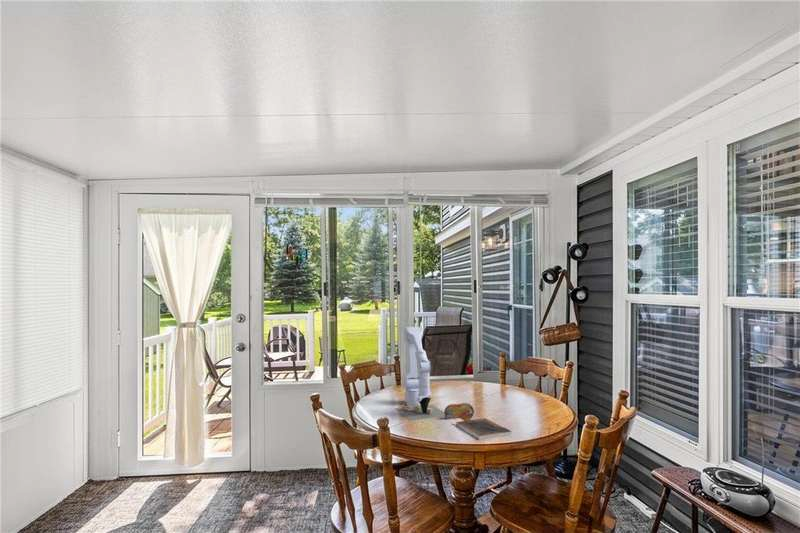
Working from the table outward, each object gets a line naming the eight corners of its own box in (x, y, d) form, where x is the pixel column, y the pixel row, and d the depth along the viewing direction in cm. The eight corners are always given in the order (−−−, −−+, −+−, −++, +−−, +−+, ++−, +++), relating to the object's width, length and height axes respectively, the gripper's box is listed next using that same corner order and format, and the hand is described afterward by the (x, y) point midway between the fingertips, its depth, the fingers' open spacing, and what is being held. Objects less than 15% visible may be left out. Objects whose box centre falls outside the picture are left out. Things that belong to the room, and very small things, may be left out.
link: (400, 409, 234) (400, 403, 234) (404, 407, 237) (404, 401, 238) (429, 414, 225) (429, 407, 226) (433, 412, 229) (433, 405, 229)
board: (394, 411, 237) (394, 408, 237) (432, 407, 244) (432, 404, 244) (409, 423, 216) (409, 420, 216) (449, 418, 223) (449, 415, 223)
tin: (445, 422, 217) (445, 405, 217) (443, 421, 220) (443, 403, 220) (474, 420, 221) (474, 403, 221) (471, 418, 224) (471, 401, 224)
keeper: (414, 407, 239) (414, 400, 239) (418, 407, 239) (418, 400, 239) (413, 412, 230) (413, 404, 230) (418, 412, 230) (418, 404, 230)
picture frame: (511, 436, 199) (485, 422, 219) (511, 430, 199) (485, 417, 219) (479, 441, 193) (455, 426, 213) (479, 435, 193) (455, 421, 213)
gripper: (425, 389, 219) (426, 417, 218) (436, 383, 232) (437, 409, 231) (412, 387, 222) (413, 415, 222) (424, 382, 235) (424, 408, 235)
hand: (424, 412), depth 227 cm, fingers closed
